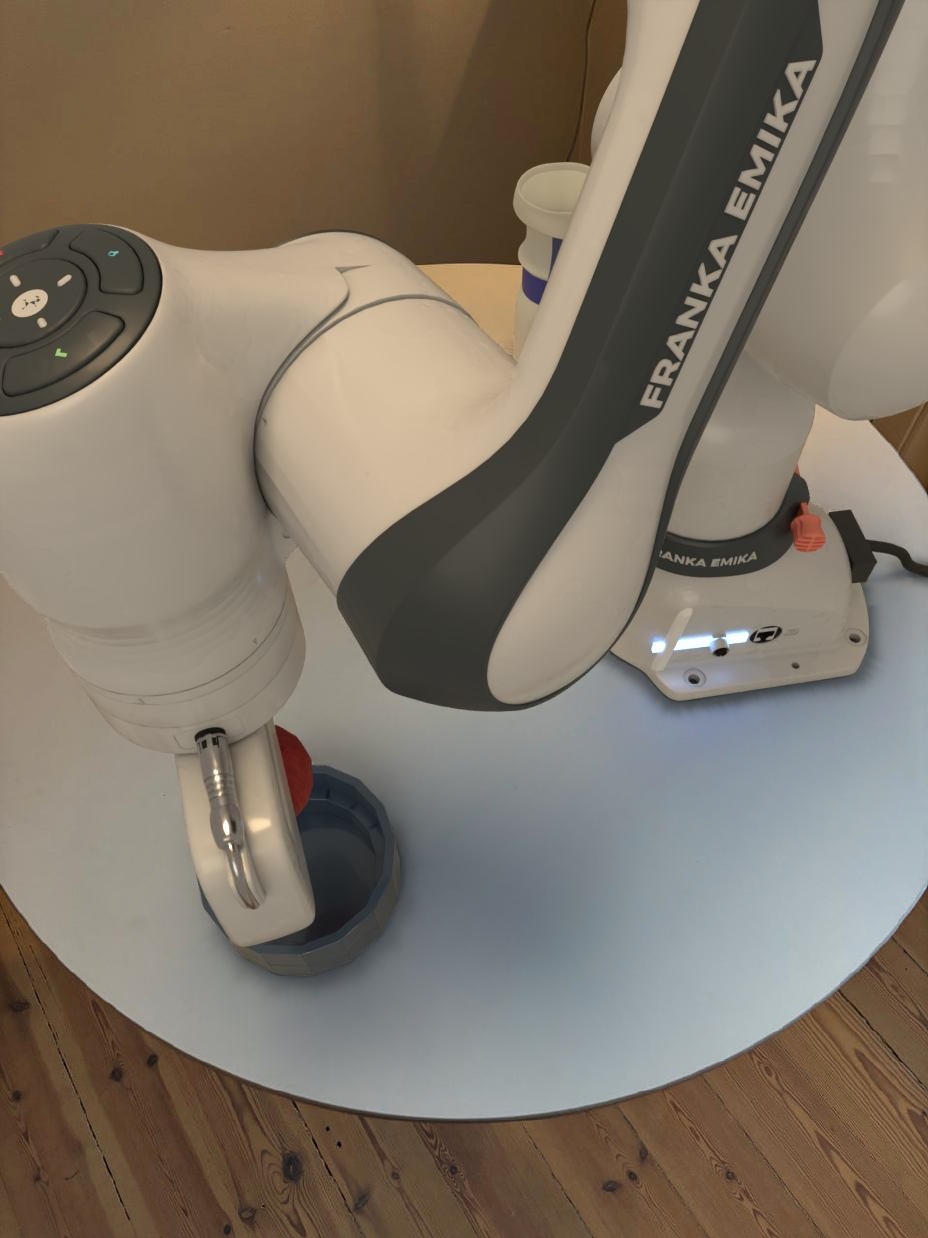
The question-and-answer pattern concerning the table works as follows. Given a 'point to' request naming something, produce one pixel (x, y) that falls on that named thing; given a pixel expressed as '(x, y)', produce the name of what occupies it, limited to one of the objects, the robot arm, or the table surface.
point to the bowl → (336, 879)
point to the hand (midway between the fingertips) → (259, 782)
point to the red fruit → (296, 768)
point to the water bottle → (542, 233)
